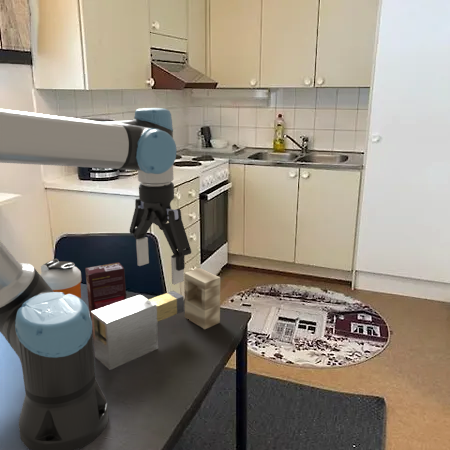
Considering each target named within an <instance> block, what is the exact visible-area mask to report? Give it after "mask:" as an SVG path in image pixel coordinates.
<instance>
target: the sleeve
mask: <svg viewBox="0 0 450 450" xmlns="http://www.w3.org/2000/svg"><path fill="white" fill-rule="evenodd" d="M91 314H92V326H93V329H92V339H93V352H94V358H96V359H97V360H98V361H99V362H100V363H101V364H102V365H104V367H106V368H107V369H108V370H109V371H111V370H113V369H115V368H118V367H120V366H122V365H125V364H126V363H127V364H128V363H129V362H131V361H133V360H136V359H137V358H140V357H142V356H146V355H147V354H149V353H151V352H153V351H156V350H157V349H159V339H158V337H159V335H158V334H159V333H158V322H157V304H155V303H153V302H152V301H150V300H149V299H148V298H147V297H145V296H144V295H141V294H138V295H135V296H132V297H128V298H126V300H123V301H120V302H117V303H114V304H111V305H108V306H106V307H103V308H100V309H97V310H94V311H91ZM99 321H100V322H102V323H103V324H104V325H105V331H106V338H105V337H103V336H102V335H101V334H100V325H99Z"/></svg>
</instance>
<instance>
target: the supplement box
mask: <svg viewBox="0 0 450 450" xmlns="http://www.w3.org/2000/svg"><path fill="white" fill-rule="evenodd" d="M125 275H126V273H125V268H124V266H123V265H122V264H121V263H120V262H119V261H118V262H112V263H108V264H103V265H96V266H90V267H85V279H86V290H87V291H86V292H87V300H88V301H87V303H88V309H89V313H90V317H91V320H92V314H91V311H94V310H97V309H100V308H103V307H106V306H108V305H111V304H114V303H117V302H120V301H123V300H126V299H127V289H126V277H125ZM92 330H93V326H92Z"/></svg>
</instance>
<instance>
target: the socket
mask: <svg viewBox="0 0 450 450" xmlns="http://www.w3.org/2000/svg"><path fill="white" fill-rule="evenodd" d="M183 283H184V318H185V319H186V320H188V319H189V320H188V321H190V322H192V323H193V324H195V325H197V326H198V327H200V328H202V329H203V330H206V329H210V328H211V327H213V326H216V325H218V324H220V323H221V322H220V321H221V277H220V276H218V275H216V274H213V273H212V272H209V271H207V270H205V269H203V268H201V267H198V268H194V269H192V270H190V271H186V272H184V281H183Z"/></svg>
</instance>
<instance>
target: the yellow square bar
mask: <svg viewBox="0 0 450 450" xmlns="http://www.w3.org/2000/svg"><path fill="white" fill-rule="evenodd" d="M148 300H150V301H152V302H153V303H155V304H157V323H158V322H161V321H163V320H166V319H169V318H171V317H173V316H175V315H178V314H181V313H183V312H185V295H184V296H183V295H182V294H180V293H179V292H177V291H175V290H172V291H168V292H166V293H163V294H160V295H157V296H154V297H152V298H149V299H148ZM99 325H100V334H101V335H102V336H103V337H105V338H106V331H105V325H104V324H103V323H102V322H100V321H99Z"/></svg>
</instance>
